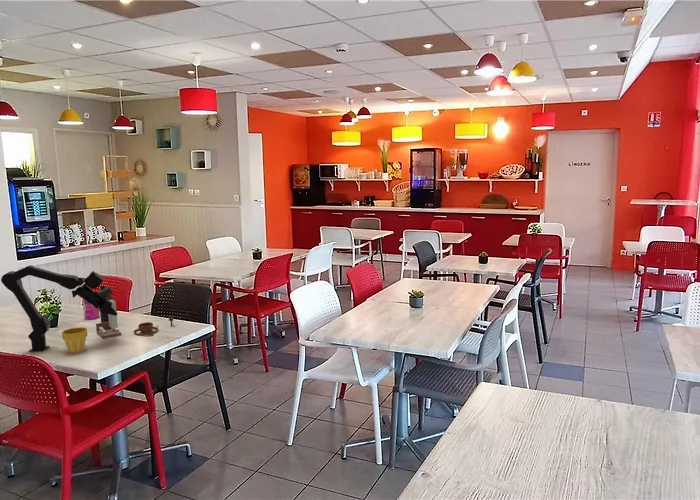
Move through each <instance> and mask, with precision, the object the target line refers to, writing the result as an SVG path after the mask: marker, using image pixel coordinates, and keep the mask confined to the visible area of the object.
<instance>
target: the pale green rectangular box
mask: <svg viewBox="0 0 700 500" xmlns="http://www.w3.org/2000/svg"><path fill="white" fill-rule="evenodd" d="M108 301H110V302H111V303H112V305H111V307H112V308H113V309H114V310H115V311H116V312H117V304H116V303H117V302H116V301H114V299H113V300H108ZM108 317H109V326H110V327H111V328H112V329H114V328H118V315H117V316H115V315H110V314H108ZM118 329H119V328H118Z"/></svg>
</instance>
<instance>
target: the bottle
mask: <svg viewBox="0 0 700 500" xmlns="http://www.w3.org/2000/svg"><path fill="white" fill-rule="evenodd" d="M104 298H106V300H113V301H114V297H112V296H111V294H110V295H108V296H106V297H104ZM99 318H100V323H103V322H109V317H108V314H105V313H104V314H103V313H101V312H100V311H99Z"/></svg>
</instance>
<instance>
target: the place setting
mask: <svg viewBox="0 0 700 500" xmlns="http://www.w3.org/2000/svg"><path fill="white" fill-rule="evenodd" d="M174 320H175V318H174V315H168V321H169V322H170V327H173V326H174V324H173V321H174ZM137 326H138V328H137V329H134V330H133V334H134V335H135V336H141V337H142V338H145V337H146V338H147V337H149V338H150V337H153V336H154V335H155V334H156V333H158V331H159V328H158V327H159V325H156V326H154V323H153V322H151V321H149V322H142V323H139V324H138V325H137ZM139 332H140V333H139Z"/></svg>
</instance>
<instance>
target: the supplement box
mask: <svg viewBox="0 0 700 500" xmlns="http://www.w3.org/2000/svg"><path fill="white" fill-rule="evenodd" d="M81 301H82V309H83V318H84V320H90V321H92V320H96V319H99V318H100V311H99V310H98V309H97V308H95V307H94V306H93V305H91V304H90V303H88V302H87V301H85V300H84V299H82V300H81Z"/></svg>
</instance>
